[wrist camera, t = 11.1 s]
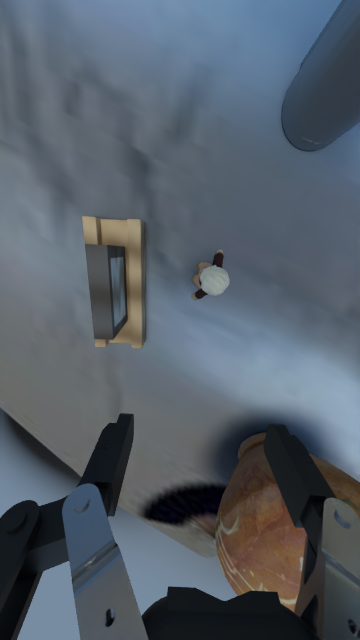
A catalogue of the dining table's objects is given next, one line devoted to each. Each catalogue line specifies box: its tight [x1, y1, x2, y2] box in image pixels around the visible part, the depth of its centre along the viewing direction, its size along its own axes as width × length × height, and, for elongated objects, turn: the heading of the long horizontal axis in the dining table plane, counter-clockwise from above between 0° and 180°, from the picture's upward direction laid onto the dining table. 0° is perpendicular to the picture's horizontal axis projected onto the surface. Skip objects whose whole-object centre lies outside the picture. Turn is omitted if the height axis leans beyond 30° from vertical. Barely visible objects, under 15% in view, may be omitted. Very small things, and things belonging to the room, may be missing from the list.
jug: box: [215, 433, 360, 612], centre depth 33 cm, size 28×28×30 cm
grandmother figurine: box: [192, 249, 230, 300], centre depth 27 cm, size 8×4×13 cm, turn 164°
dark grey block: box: [85, 244, 128, 340], centre depth 28 cm, size 12×3×8 cm, turn 177°
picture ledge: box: [82, 216, 146, 349], centre depth 32 cm, size 20×8×4 cm, turn 177°
